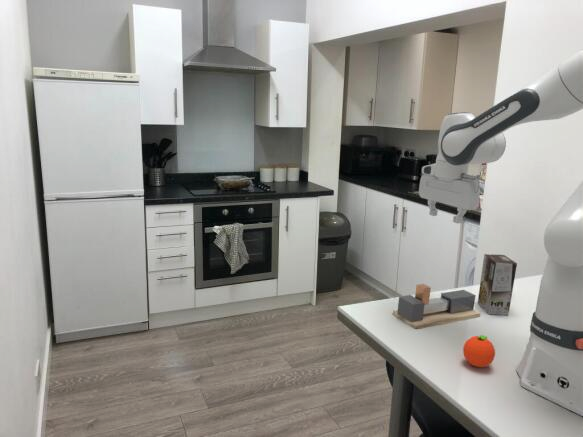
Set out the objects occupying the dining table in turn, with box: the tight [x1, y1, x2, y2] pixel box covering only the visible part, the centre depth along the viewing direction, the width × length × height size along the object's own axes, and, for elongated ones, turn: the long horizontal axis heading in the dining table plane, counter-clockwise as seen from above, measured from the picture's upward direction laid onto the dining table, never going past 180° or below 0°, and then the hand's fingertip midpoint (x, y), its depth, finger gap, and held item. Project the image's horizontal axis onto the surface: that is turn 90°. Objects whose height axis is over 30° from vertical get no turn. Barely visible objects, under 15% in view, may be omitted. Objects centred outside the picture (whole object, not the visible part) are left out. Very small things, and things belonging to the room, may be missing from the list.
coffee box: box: [477, 253, 518, 316], centre depth 143 cm, size 9×6×16 cm
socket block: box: [397, 294, 425, 322], centre depth 132 cm, size 6×4×5 cm, turn 26°
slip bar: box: [414, 283, 451, 314], centre depth 135 cm, size 3×15×8 cm, turn 116°
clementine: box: [462, 334, 496, 368], centre depth 110 cm, size 8×7×7 cm
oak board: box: [392, 309, 482, 330], centre depth 137 cm, size 10×24×1 cm, turn 116°
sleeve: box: [440, 289, 476, 314], centre depth 140 cm, size 5×9×5 cm, turn 116°
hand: (444, 219), depth 137 cm, fingers open, 8 cm apart
